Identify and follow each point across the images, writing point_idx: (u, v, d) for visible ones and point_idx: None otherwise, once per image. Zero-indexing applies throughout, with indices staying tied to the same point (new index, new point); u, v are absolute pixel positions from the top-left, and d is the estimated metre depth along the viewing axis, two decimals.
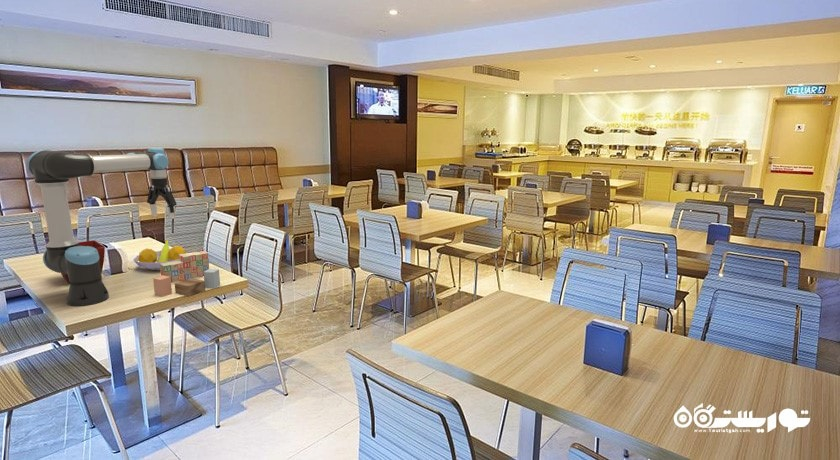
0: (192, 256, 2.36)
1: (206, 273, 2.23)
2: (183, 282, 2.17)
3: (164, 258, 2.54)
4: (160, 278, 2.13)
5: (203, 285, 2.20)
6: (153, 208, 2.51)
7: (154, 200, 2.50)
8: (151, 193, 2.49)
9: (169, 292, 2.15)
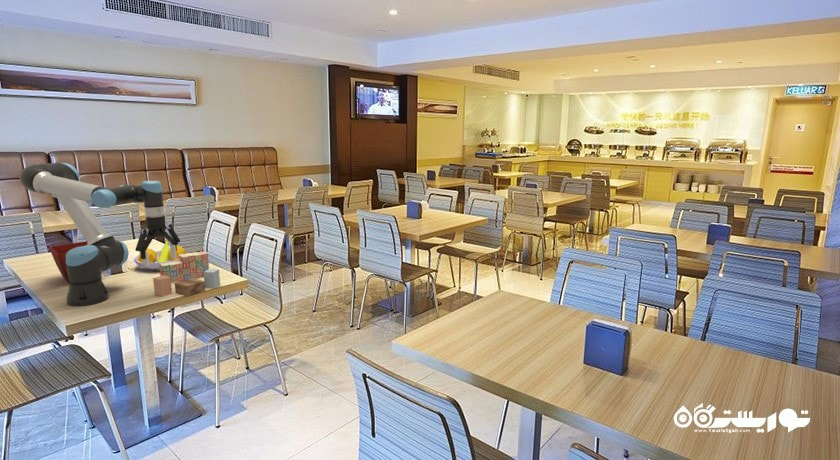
0: (191, 256, 2.35)
1: (206, 273, 2.23)
2: (183, 282, 2.17)
3: (164, 258, 2.54)
4: (160, 278, 2.13)
5: (203, 285, 2.20)
6: (171, 249, 2.17)
7: (169, 240, 2.15)
8: (169, 232, 2.15)
9: (169, 292, 2.15)
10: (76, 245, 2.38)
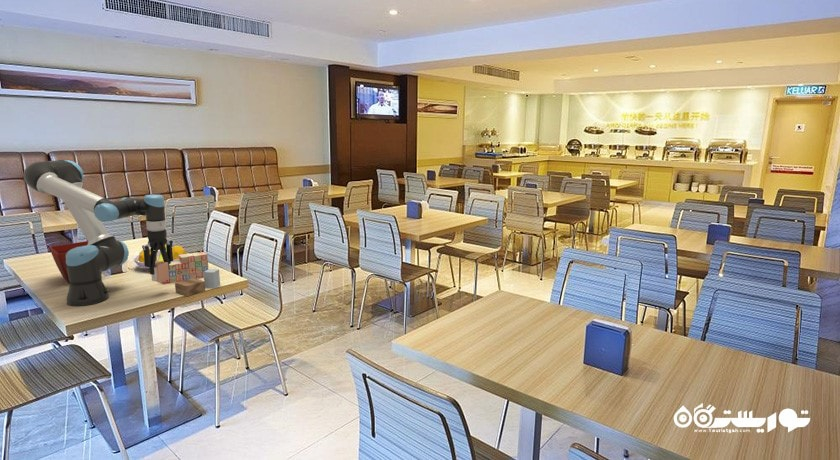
0: (191, 257, 2.34)
1: (206, 273, 2.23)
2: (183, 282, 2.18)
3: None
4: (158, 263, 2.11)
5: (203, 285, 2.19)
6: None
7: (164, 257, 2.14)
8: (167, 248, 2.16)
9: (166, 278, 2.14)
10: (76, 245, 2.38)
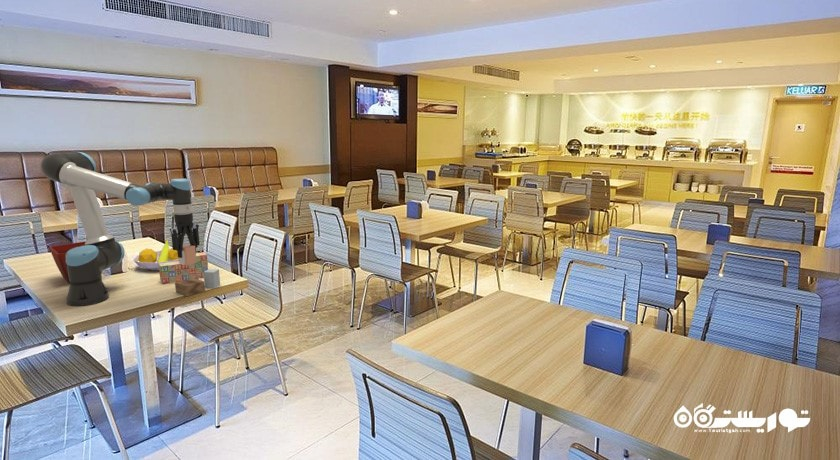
0: None
1: (206, 273, 2.23)
2: (183, 282, 2.18)
3: (164, 258, 2.54)
4: (185, 247, 2.14)
5: (203, 286, 2.19)
6: None
7: (191, 241, 2.16)
8: (193, 232, 2.18)
9: (194, 261, 2.16)
10: (76, 245, 2.38)
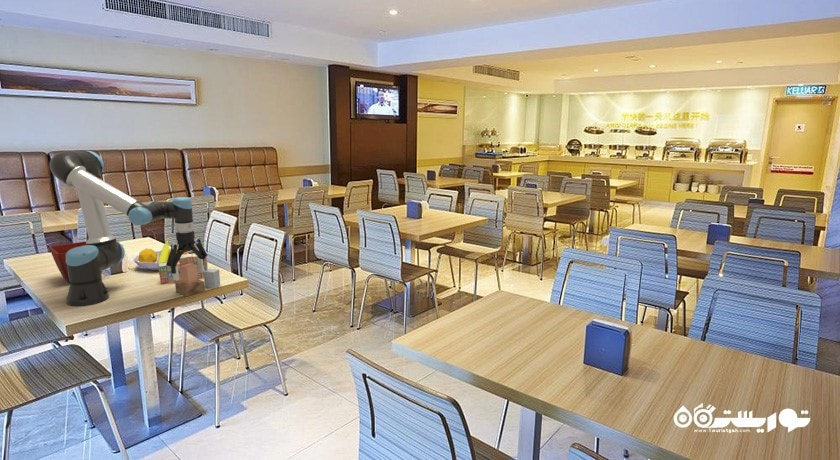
0: (190, 257, 2.33)
1: (206, 273, 2.23)
2: None
3: (164, 258, 2.54)
4: (187, 266, 2.15)
5: (202, 286, 2.19)
6: (199, 263, 2.22)
7: (197, 255, 2.21)
8: (197, 246, 2.21)
9: (195, 280, 2.18)
10: (76, 245, 2.38)
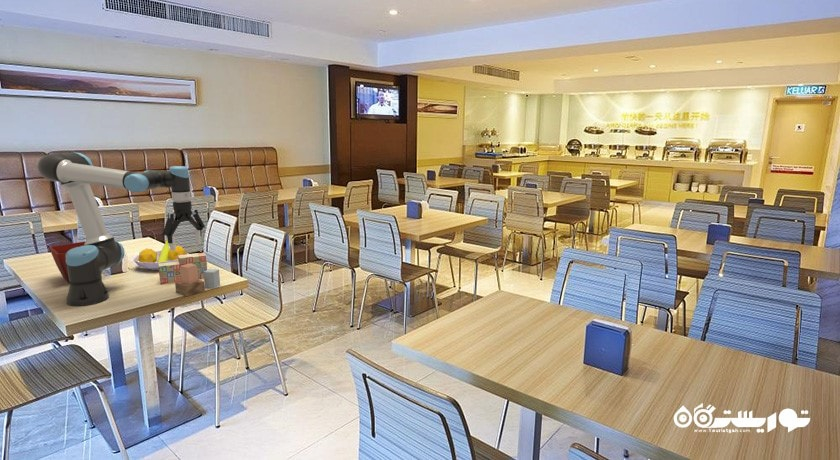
0: (189, 258, 2.33)
1: (206, 273, 2.23)
2: None
3: (164, 258, 2.54)
4: (187, 266, 2.16)
5: (202, 286, 2.19)
6: (196, 234, 2.20)
7: (195, 226, 2.18)
8: (195, 217, 2.18)
9: (196, 280, 2.18)
10: (76, 245, 2.38)
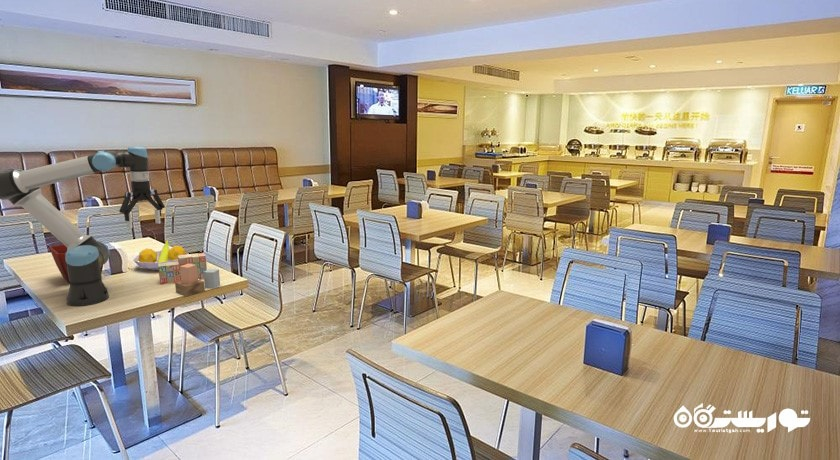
0: (189, 258, 2.33)
1: (206, 273, 2.23)
2: None
3: (164, 258, 2.54)
4: (187, 266, 2.16)
5: (202, 286, 2.19)
6: (156, 214, 2.25)
7: (154, 205, 2.23)
8: (154, 197, 2.24)
9: (195, 280, 2.19)
10: None
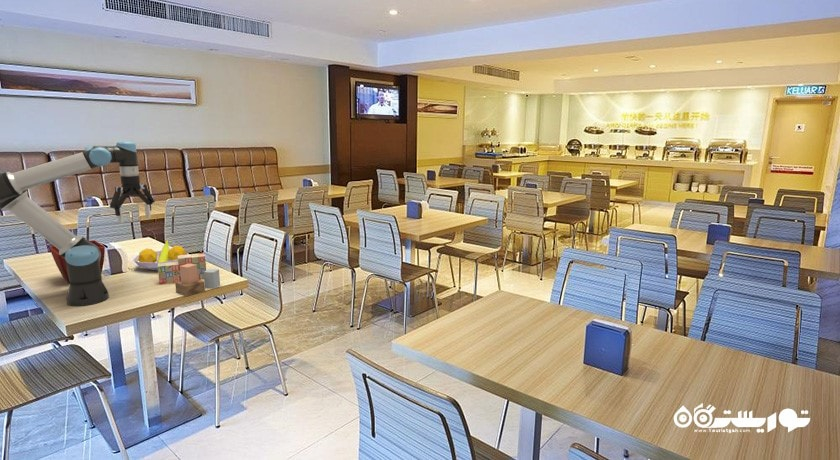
0: (188, 258, 2.32)
1: (206, 273, 2.23)
2: None
3: (164, 258, 2.54)
4: (187, 265, 2.16)
5: (202, 286, 2.19)
6: (146, 208, 2.27)
7: (144, 200, 2.25)
8: (144, 192, 2.26)
9: (195, 280, 2.18)
10: None
